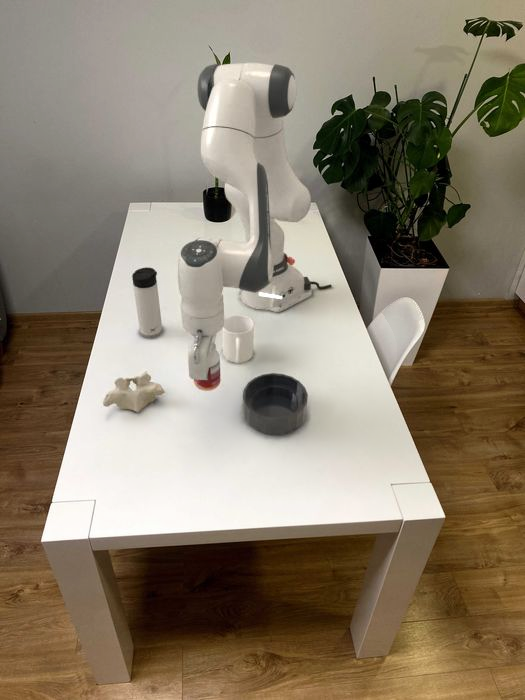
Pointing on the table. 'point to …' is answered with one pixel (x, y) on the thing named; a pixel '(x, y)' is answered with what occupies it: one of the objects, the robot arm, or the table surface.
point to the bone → (133, 393)
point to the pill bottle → (211, 373)
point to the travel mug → (147, 302)
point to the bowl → (274, 403)
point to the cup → (238, 338)
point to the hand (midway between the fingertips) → (206, 366)
